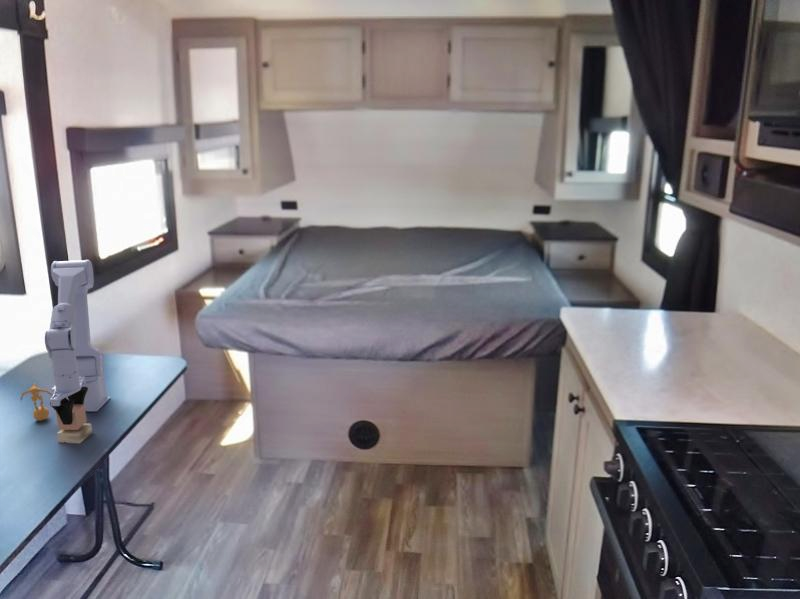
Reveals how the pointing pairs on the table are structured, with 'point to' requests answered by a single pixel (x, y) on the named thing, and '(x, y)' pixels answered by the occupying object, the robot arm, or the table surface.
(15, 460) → the table surface
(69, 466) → the table surface
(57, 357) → the robot arm
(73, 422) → the terracotta cube
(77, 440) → the birch base block
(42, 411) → the figurine
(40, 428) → the table surface
